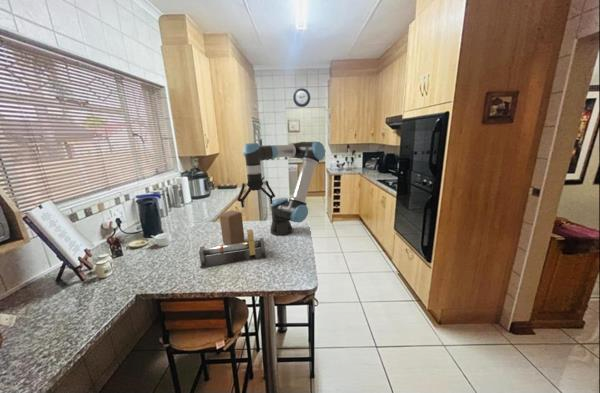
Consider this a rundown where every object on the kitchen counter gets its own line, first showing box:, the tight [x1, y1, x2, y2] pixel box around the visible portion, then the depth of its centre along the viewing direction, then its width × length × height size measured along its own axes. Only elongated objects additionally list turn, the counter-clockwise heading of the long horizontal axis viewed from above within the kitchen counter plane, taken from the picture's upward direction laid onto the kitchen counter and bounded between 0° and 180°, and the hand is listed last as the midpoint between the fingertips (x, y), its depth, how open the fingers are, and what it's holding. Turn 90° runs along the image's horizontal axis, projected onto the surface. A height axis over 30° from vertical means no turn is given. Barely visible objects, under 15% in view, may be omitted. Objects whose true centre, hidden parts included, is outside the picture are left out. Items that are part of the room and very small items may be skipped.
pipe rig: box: [198, 237, 267, 269], centre depth 136 cm, size 34×12×8 cm, turn 105°
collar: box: [246, 228, 256, 255], centre depth 138 cm, size 3×8×12 cm, turn 15°
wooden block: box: [219, 209, 245, 245], centre depth 154 cm, size 10×10×20 cm
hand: (257, 211), depth 136 cm, fingers open, 13 cm apart
